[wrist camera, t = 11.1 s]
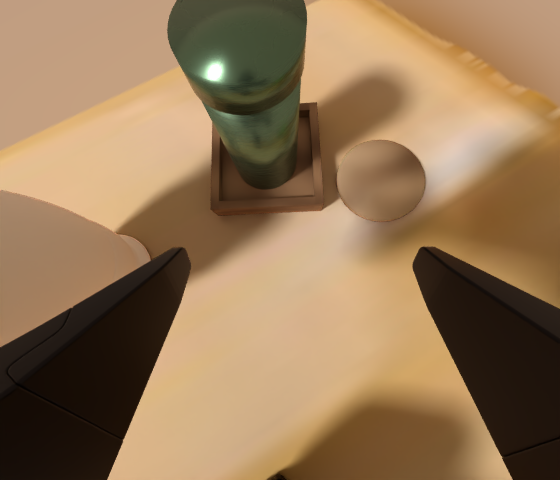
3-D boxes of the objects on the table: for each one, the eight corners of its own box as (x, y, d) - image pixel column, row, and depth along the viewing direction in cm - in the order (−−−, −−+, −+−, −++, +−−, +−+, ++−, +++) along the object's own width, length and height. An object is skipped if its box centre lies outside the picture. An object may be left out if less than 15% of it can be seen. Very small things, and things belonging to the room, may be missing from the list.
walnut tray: (320, 210, 22) (323, 203, 20) (218, 215, 23) (210, 209, 21) (314, 117, 24) (316, 102, 22) (219, 124, 25) (212, 109, 22)
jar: (136, 208, 24) (-126, 97, 9) (180, 286, 22) (-50, 313, 7) (53, 261, 23) (-374, 239, 8) (92, 345, 21) (-355, 507, 7)
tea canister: (308, 145, 22) (329, -13, 10) (281, 200, 21) (269, 101, 9) (252, 124, 23) (208, -49, 11) (224, 176, 22) (142, 54, 10)
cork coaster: (439, 179, 22) (443, 177, 22) (383, 239, 22) (385, 238, 21) (374, 127, 24) (376, 124, 23) (319, 182, 23) (319, 180, 22)
